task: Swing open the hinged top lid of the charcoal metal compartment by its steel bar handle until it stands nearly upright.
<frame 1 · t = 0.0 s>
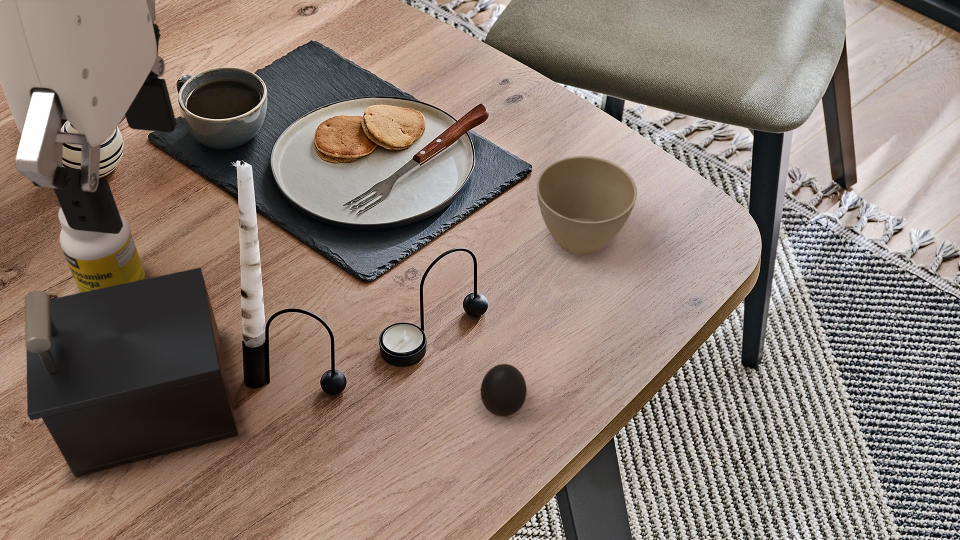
hand: (126, 175, 60), 30 cm above the table, tool pointing down, fingers open, 9 cm apart
lid: (113, 320, 75), point 12 cm above the table, hinge at 0.0°
pill bottle: (116, 292, 93), on the table
compartment: (152, 402, 84), on the table
egg: (502, 404, 85), on the table
tan bowl: (579, 239, 100), on the table
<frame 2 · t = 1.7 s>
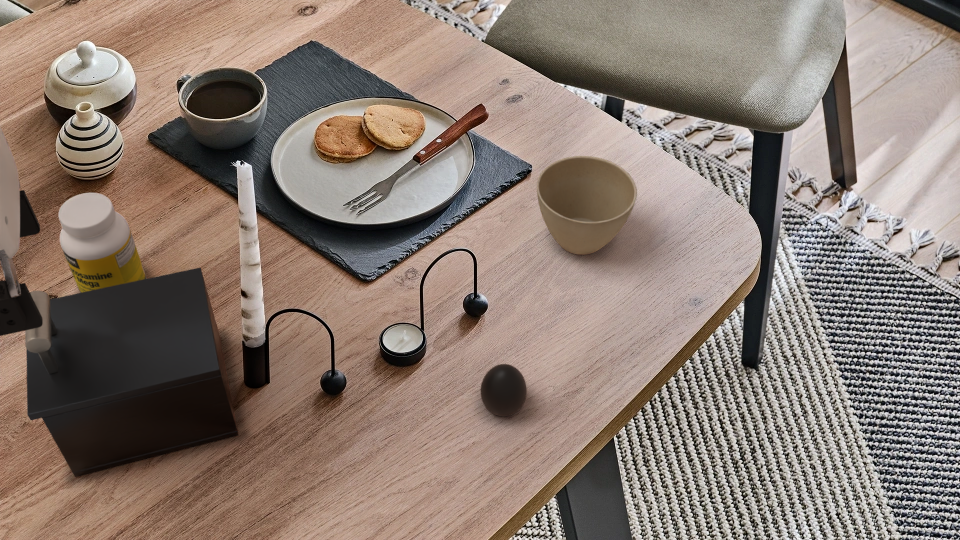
hand: (19, 279, 69), 18 cm above the table, tool pointing down, fingers open, 9 cm apart
nothing on the table moved.
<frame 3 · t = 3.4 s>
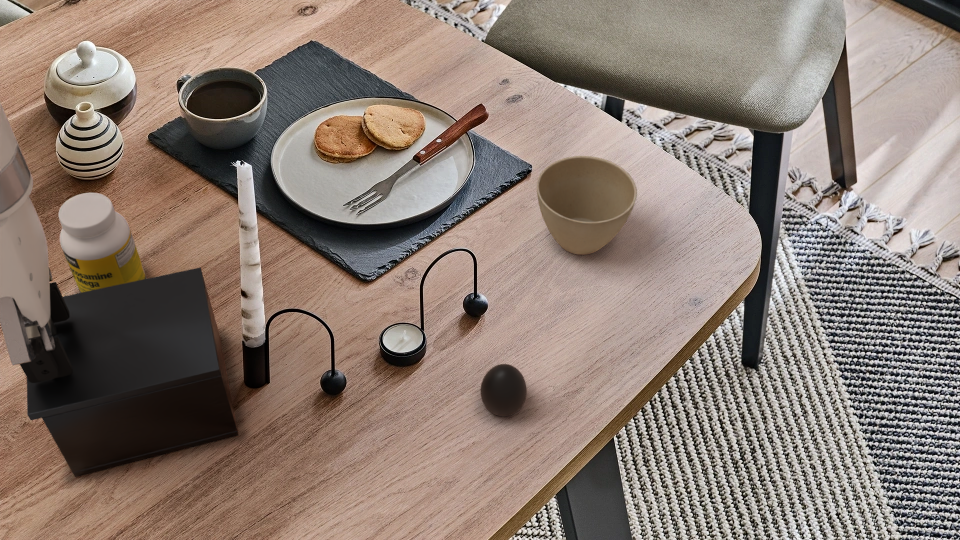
hand: (50, 346, 75), 10 cm above the table, tool pointing down, fingers closed on lid, 5 cm apart
lid: (113, 320, 75), point 12 cm above the table, hinge at 0.0°, touching gripper
everything else where it was.
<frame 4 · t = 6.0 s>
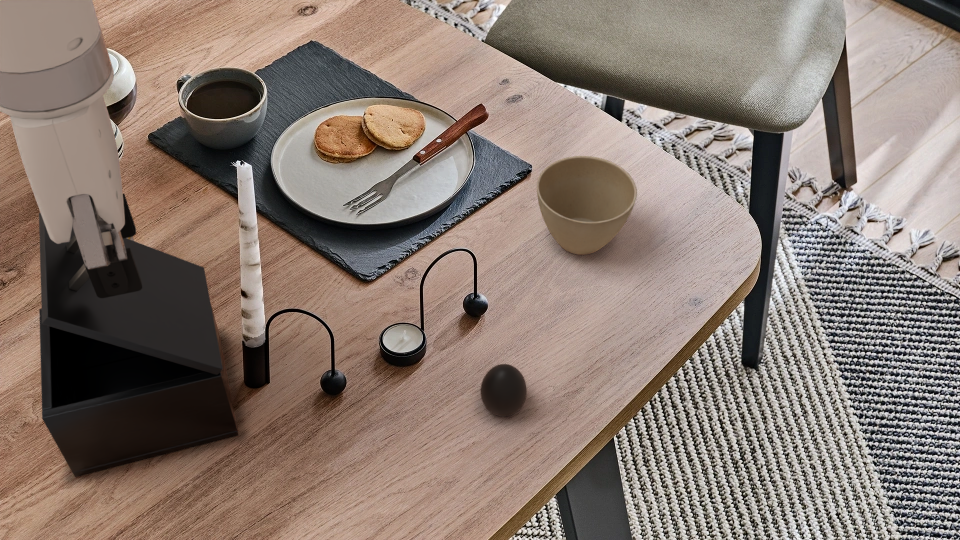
hand: (117, 262, 71), 18 cm above the table, tool pointing down, fingers closed on lid, 5 cm apart
lid: (148, 273, 73), point 16 cm above the table, hinge at 44.5°, touching gripper
everything else where it was.
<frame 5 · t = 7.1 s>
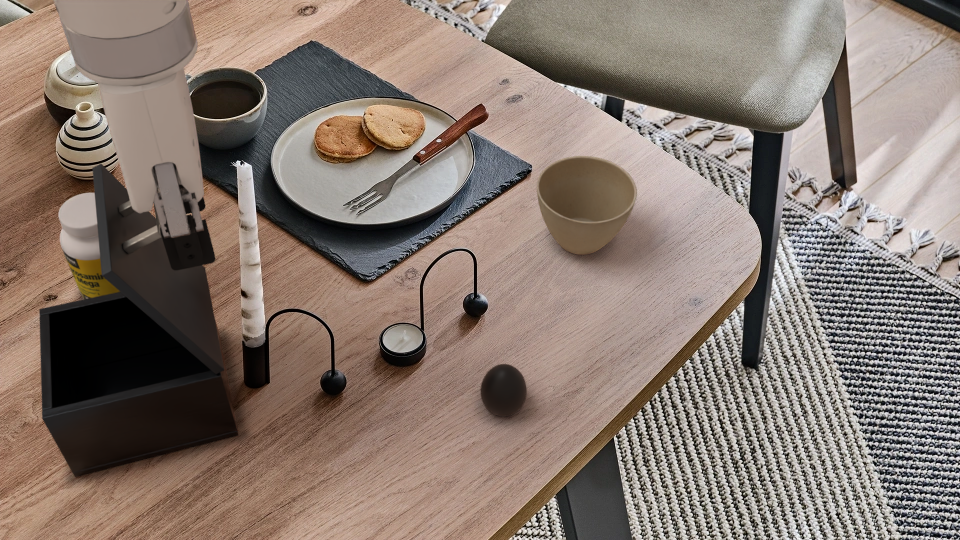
hand: (189, 235, 72), 19 cm above the table, tool pointing down, fingers closed on lid, 5 cm apart
lid: (185, 258, 73), point 17 cm above the table, hinge at 68.4°, touching gripper
everything else where it was.
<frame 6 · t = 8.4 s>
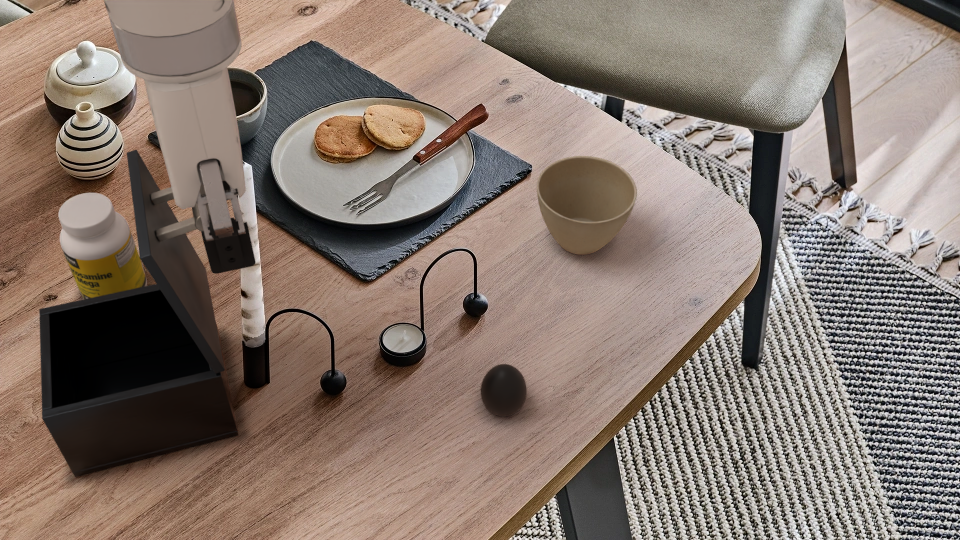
hand: (224, 226, 72), 19 cm above the table, tool pointing down, fingers open, 8 cm apart
lid: (205, 254, 74), point 17 cm above the table, hinge at 79.7°
everything else where it was.
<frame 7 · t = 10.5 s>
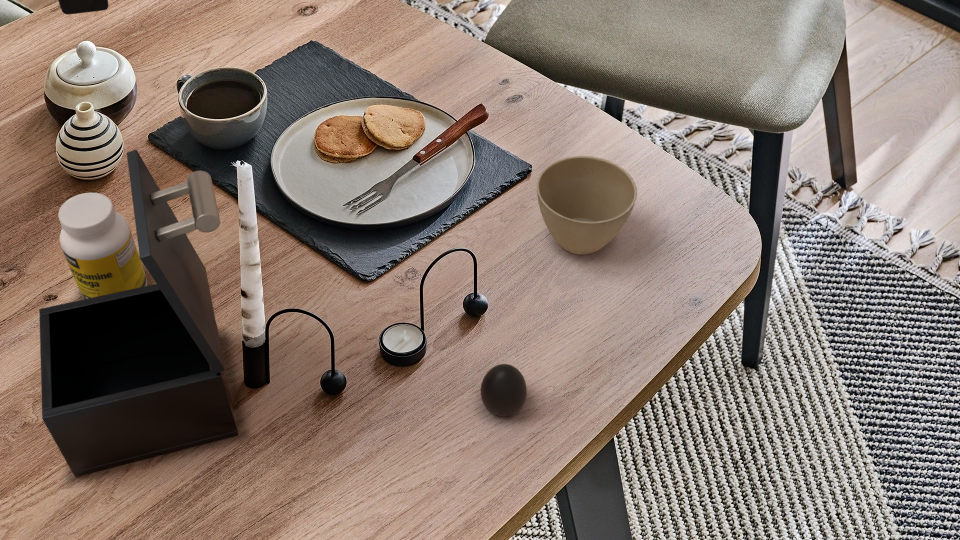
nothing on the table moved.
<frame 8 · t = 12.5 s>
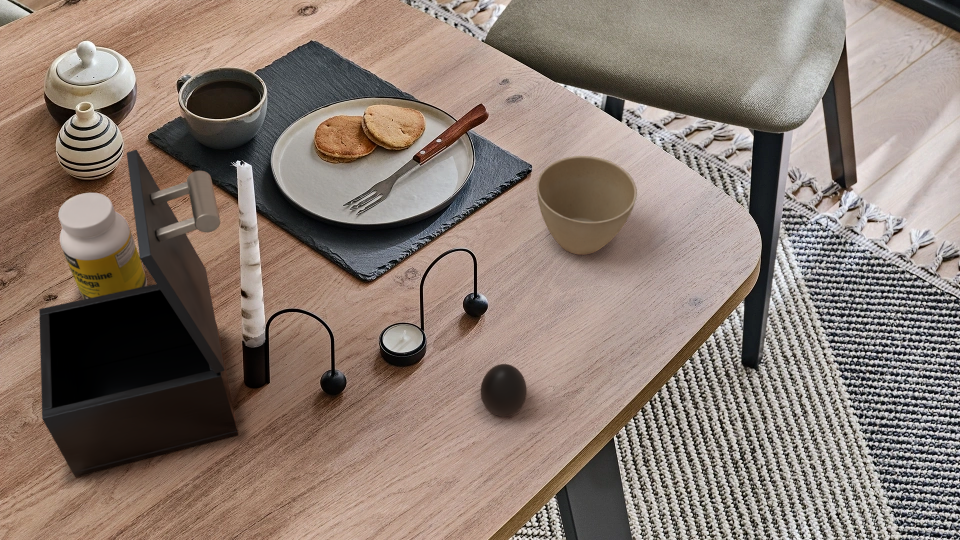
nothing on the table moved.
at the end: lid at +80° (first picture: +0°); pill bottle moved 0.2 cm from its start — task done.
